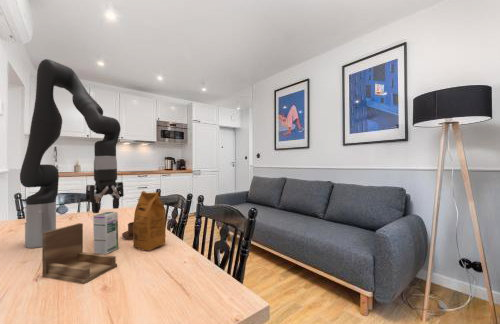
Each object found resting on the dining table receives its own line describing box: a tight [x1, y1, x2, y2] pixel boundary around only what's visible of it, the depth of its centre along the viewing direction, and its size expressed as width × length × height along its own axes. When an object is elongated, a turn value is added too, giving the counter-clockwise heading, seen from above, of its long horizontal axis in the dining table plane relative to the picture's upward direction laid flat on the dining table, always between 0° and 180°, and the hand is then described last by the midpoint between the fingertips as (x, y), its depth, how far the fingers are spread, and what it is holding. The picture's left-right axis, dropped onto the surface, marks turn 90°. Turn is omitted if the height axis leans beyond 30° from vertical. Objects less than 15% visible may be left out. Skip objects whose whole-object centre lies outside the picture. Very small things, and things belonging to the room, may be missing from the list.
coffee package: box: [132, 190, 167, 251], centre depth 92 cm, size 10×12×22 cm
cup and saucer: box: [121, 221, 134, 240], centre depth 104 cm, size 12×12×6 cm
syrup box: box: [92, 211, 119, 255], centre depth 87 cm, size 6×6×14 cm
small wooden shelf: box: [41, 222, 118, 285], centre depth 70 cm, size 16×11×13 cm
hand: (106, 210), depth 87 cm, fingers open, 8 cm apart
